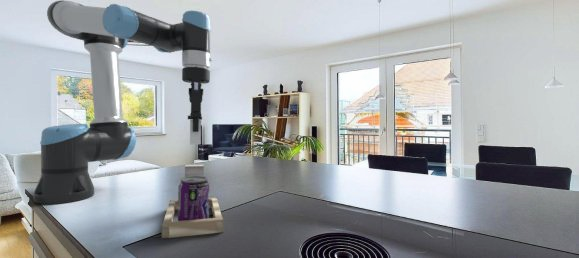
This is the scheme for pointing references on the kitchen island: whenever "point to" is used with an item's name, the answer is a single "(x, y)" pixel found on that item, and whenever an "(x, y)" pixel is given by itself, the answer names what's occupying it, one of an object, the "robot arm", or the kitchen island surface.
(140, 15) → the robot arm
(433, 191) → the kitchen island surface
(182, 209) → the beverage can
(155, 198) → the kitchen island surface
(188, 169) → the can sled
